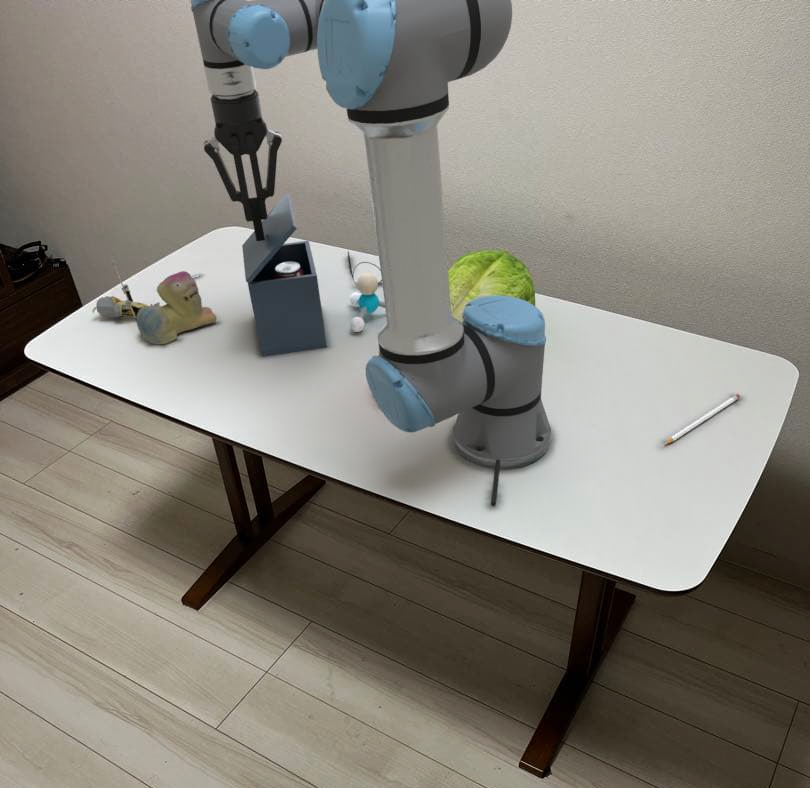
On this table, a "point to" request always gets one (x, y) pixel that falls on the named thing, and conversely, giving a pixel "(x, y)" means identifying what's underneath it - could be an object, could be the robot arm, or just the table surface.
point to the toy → (119, 303)
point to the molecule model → (365, 299)
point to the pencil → (702, 419)
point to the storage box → (288, 304)
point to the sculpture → (174, 310)
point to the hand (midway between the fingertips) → (260, 237)
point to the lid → (269, 238)
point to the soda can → (288, 270)
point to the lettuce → (488, 279)
